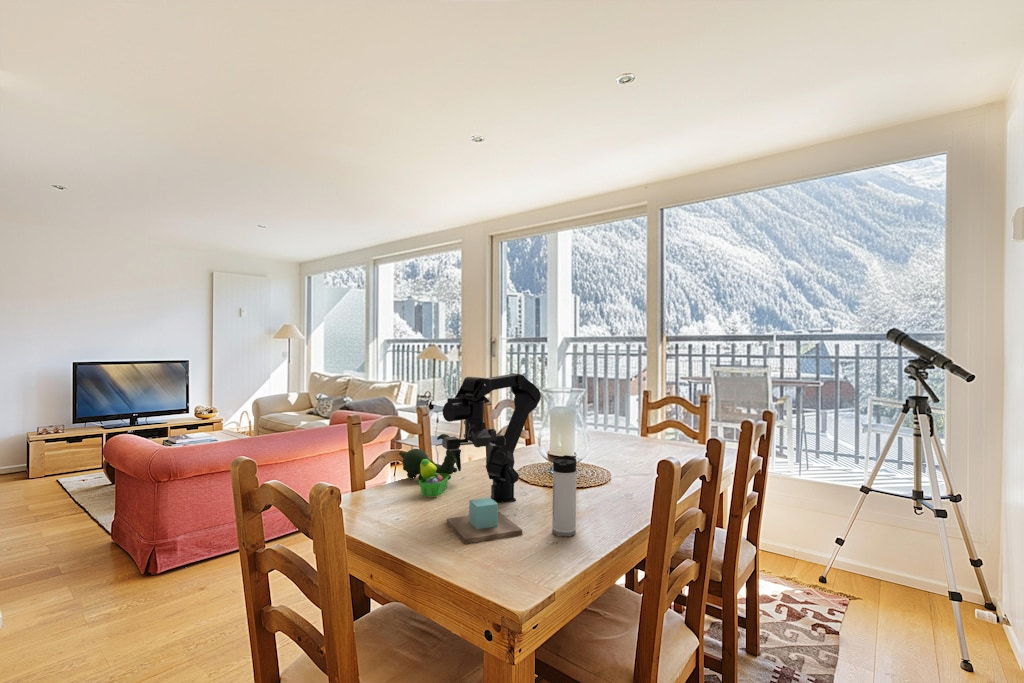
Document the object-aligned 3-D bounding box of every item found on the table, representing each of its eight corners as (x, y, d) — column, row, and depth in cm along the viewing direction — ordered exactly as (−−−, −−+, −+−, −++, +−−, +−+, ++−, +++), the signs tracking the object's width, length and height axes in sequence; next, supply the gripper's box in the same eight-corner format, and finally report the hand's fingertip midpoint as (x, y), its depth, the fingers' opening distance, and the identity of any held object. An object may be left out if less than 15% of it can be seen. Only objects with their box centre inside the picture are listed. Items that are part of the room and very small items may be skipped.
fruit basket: (439, 498, 162) (440, 463, 162) (413, 497, 163) (414, 462, 163) (450, 488, 173) (450, 456, 173) (425, 487, 174) (426, 454, 174)
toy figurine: (460, 486, 182) (405, 471, 193) (464, 434, 181) (409, 423, 192) (445, 493, 173) (389, 477, 184) (450, 439, 173) (393, 426, 183)
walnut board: (498, 515, 147) (498, 511, 147) (522, 534, 132) (522, 529, 132) (446, 522, 140) (446, 518, 140) (464, 543, 125) (465, 539, 125)
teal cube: (489, 518, 140) (489, 497, 140) (497, 526, 134) (497, 503, 134) (469, 521, 137) (469, 500, 137) (476, 529, 132) (477, 506, 132)
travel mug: (578, 529, 136) (578, 456, 136) (573, 538, 130) (573, 461, 130) (555, 526, 138) (556, 454, 138) (549, 535, 132) (550, 459, 132)
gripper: (453, 424, 141) (452, 479, 141) (513, 420, 148) (512, 473, 148) (441, 418, 151) (441, 470, 151) (498, 415, 159) (498, 464, 158)
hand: (473, 469), depth 152 cm, fingers open, 9 cm apart
